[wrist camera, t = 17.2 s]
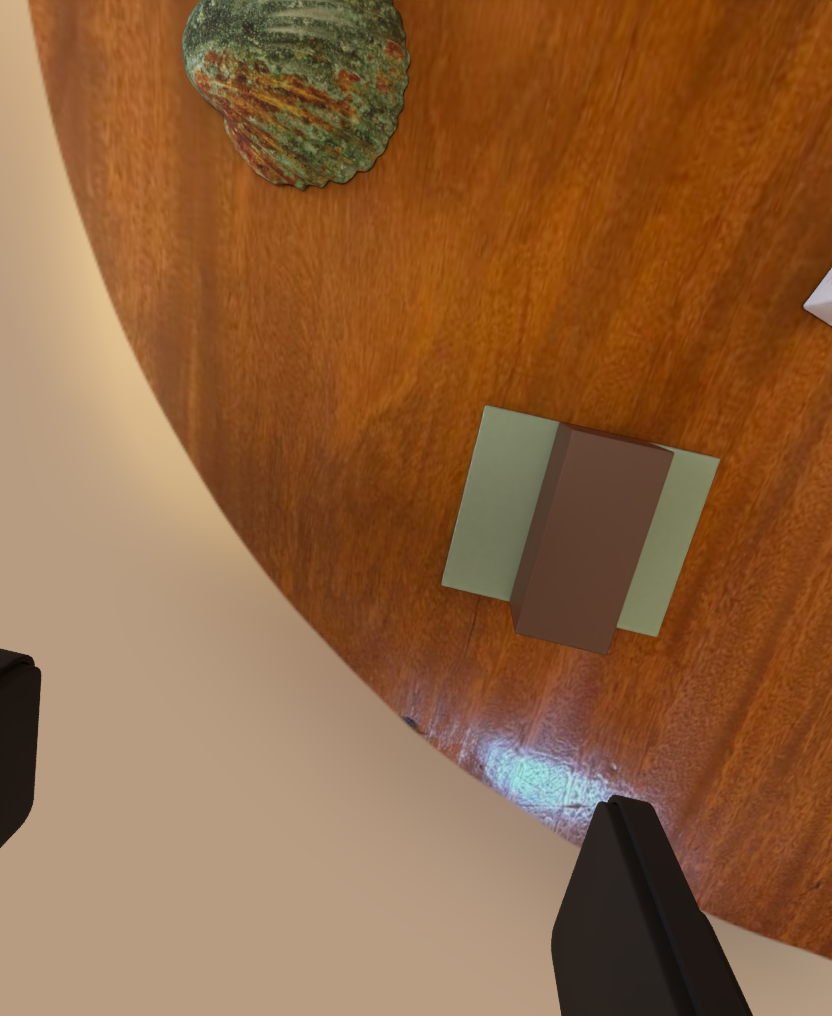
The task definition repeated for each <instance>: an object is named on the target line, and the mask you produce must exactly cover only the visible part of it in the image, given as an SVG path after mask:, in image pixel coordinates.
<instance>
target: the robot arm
mask: <svg viewBox="0 0 832 1016" xmlns="http://www.w3.org/2000/svg"><path fill="white" fill-rule="evenodd" d="M40 689H41V671H40V669H39V668H38V667H35V664H34V660H33V658H32V657H30V656H29V655H25V654H21V653H17V652H13V651H8V650H4V649H0V848H1V847H2V846H3V845H4V844H5V842H6V841H7V840H8V839H9V838H10V837H11V836H12V835H13V834H14V833H15V832H16V831H17V830H18V829H19V828H20V827H21V825H22V824H23V823H24V822H25V820H26V818H27V817H28V815H29V813H30V811H31V808H32V805H33V800H34V786H35V770H36V754H37V753H36V752H37V738H38V721H39V705H40ZM551 952H552V960H553V965H554V972H555V979H556V984H557V990H558V997H559V1002H560V1009H561V1016H753V1015H752V1012H751V1010H750V1008H749V1006H748V1004H747V1002H746V999H745V997H744V995H743V993H742V991H741V988H740V986H739V984H738V982H737V980H736V978H735V975H734V973H733V971H732V969H731V967H730V965H729V962H728V960H727V958H726V956H725V954H724V952H723V950H722V947H721V945H720V943H719V941H718V939H717V936H716V934H715V932H714V930H713V927H712V926H711V924H710V922H709V920H708V919H707V917H706V915H705V914H703V913H702V912H701V911H700V910H699V907H698V905H697V903H696V901H695V898H694V896H693V894H692V892H691V890H690V887H689V885H688V883H687V881H686V878H685V876H684V874H683V872H682V870H681V867H680V865H679V863H678V861H677V858H676V856H675V854H674V852H673V850H672V847H671V845H670V843H669V841H668V838H667V836H666V834H665V832H664V830H663V827H662V825H661V823H660V821H659V818H658V816H657V814H656V812H655V810H654V808H653V806H652V805H651V804H650V803H648V802H644V801H640V800H636V799H632V798H628V797H623V796H619V795H612V796H611V797H610V798H609V800H608V802H603V801H601V802H599V803H598V804H597V806H596V808H595V811H594V814H593V817H592V820H591V822H590V825H589V828H588V831H587V834H586V837H585V839H584V842H583V845H582V848H581V851H580V853H579V856H578V859H577V862H576V865H575V868H574V871H573V873H572V876H571V879H570V882H569V885H568V887H567V890H566V893H565V896H564V898H563V901H562V904H561V907H560V910H559V913H558V916H557V918H556V921H555V924H554V927H553V931H552V939H551Z"/></svg>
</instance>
